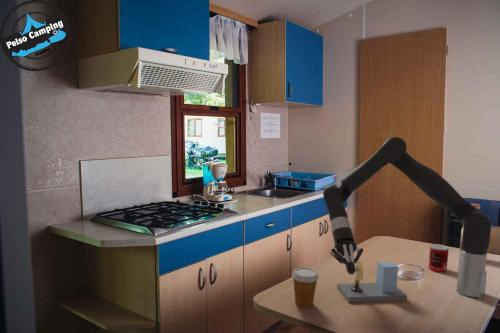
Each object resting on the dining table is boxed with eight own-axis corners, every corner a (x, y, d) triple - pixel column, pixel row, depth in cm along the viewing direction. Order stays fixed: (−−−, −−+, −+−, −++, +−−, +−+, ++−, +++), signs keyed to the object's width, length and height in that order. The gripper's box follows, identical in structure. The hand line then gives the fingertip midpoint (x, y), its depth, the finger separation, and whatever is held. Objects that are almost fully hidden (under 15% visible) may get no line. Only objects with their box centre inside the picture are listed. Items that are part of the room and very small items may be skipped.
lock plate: (391, 287, 160) (392, 276, 159) (406, 300, 148) (407, 289, 147) (337, 288, 157) (337, 277, 156) (348, 302, 145) (349, 290, 144)
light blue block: (389, 285, 156) (390, 261, 155) (396, 291, 151) (398, 266, 149) (375, 286, 155) (377, 261, 154) (382, 292, 150) (384, 267, 149)
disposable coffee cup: (299, 295, 150) (301, 265, 148) (322, 303, 144) (323, 271, 142) (285, 303, 142) (287, 272, 141) (308, 312, 136) (310, 279, 135)
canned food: (442, 267, 185) (444, 244, 183) (449, 273, 177) (451, 249, 175) (425, 266, 185) (427, 243, 184) (431, 272, 177) (433, 248, 176)
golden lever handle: (353, 286, 152) (354, 260, 151) (359, 287, 152) (361, 260, 151) (354, 299, 141) (356, 270, 140) (361, 300, 141) (363, 271, 140)
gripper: (328, 226, 149) (337, 269, 138) (361, 226, 150) (373, 268, 140) (323, 235, 154) (331, 278, 144) (355, 235, 156) (366, 277, 145)
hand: (352, 273), depth 142 cm, fingers closed
